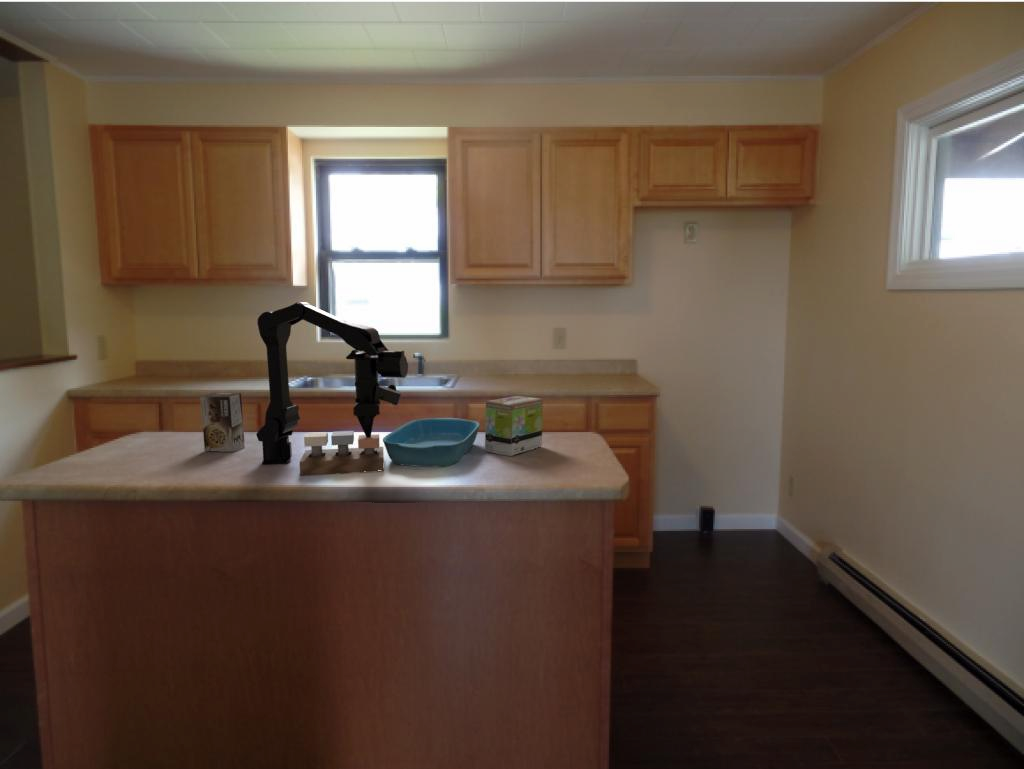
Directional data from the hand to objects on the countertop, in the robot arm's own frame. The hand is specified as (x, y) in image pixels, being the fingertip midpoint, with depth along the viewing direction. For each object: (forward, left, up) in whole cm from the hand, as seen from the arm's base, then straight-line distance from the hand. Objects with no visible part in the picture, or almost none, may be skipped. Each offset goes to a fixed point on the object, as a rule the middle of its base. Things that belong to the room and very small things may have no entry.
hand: (368, 436), depth 158 cm
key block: (-6, 0, -8) cm, 10 cm away
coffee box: (-41, +27, -8) cm, 50 cm away
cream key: (-13, 0, -5) cm, 14 cm away
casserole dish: (+18, +10, -8) cm, 22 cm away
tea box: (+41, +10, -8) cm, 43 cm away
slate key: (-6, 0, -5) cm, 8 cm away
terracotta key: (0, 0, -6) cm, 6 cm away
